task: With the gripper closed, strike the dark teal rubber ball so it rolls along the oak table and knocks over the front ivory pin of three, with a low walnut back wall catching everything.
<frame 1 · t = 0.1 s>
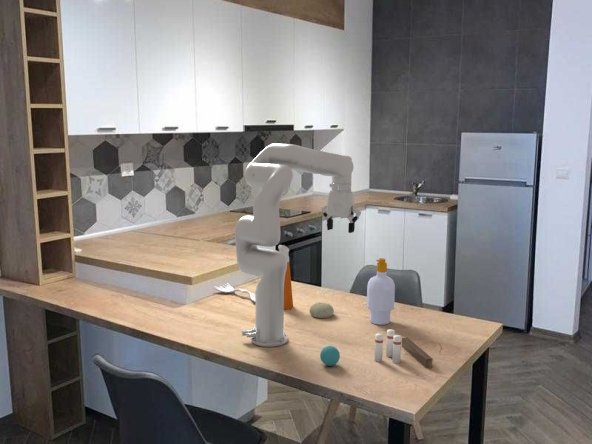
hand: (340, 230, 233), 31 cm above the counter, tool pointing down, fingers open, 9 cm apart
ball: (330, 355, 182), on the counter
right back pin: (396, 362, 185), on the counter
back wall: (416, 356, 190), on the counter
spray bottle: (282, 309, 236), on the counter
front pin: (378, 360, 187), on the counter
soap bottle: (379, 322, 222), on the counter
white fork: (245, 298, 250), on the counter
sea urchin shell: (321, 316, 228), on the counter
left back pin: (389, 355, 190), on the counter
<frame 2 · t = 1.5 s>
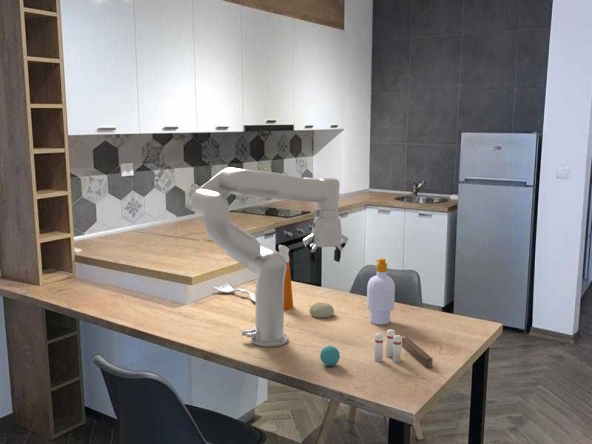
hand: (324, 261, 209), 25 cm above the counter, tool pointing down, fingers open, 9 cm apart
nothing on the counter moved.
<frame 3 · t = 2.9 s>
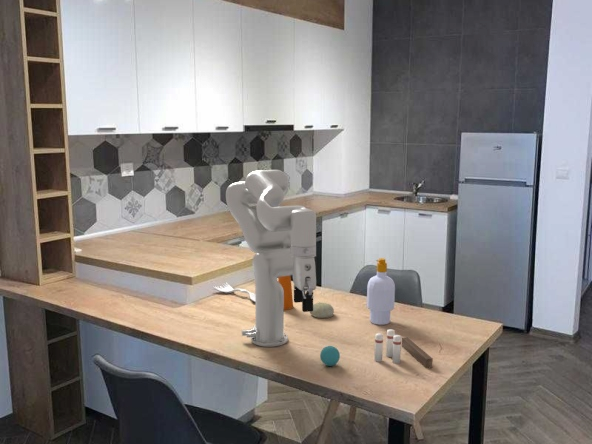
hand: (303, 306, 178), 19 cm above the counter, tool pointing down, fingers open, 9 cm apart
nothing on the counter moved.
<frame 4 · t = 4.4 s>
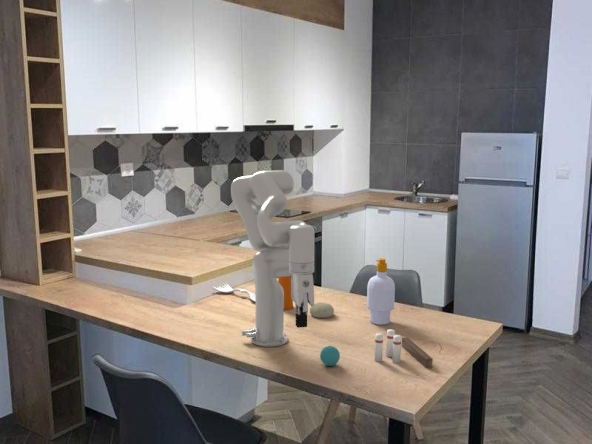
hand: (301, 326, 178), 13 cm above the counter, tool pointing down, fingers closed
nothing on the counter moved.
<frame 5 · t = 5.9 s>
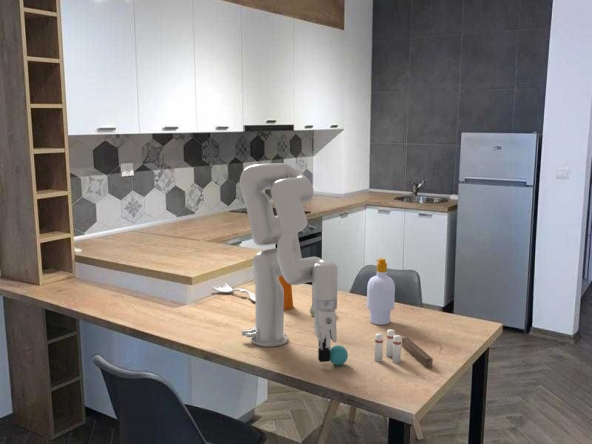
hand: (323, 360, 181), 2 cm above the counter, tool pointing down, fingers closed
ball: (338, 355, 183), on the counter
everything else where it was.
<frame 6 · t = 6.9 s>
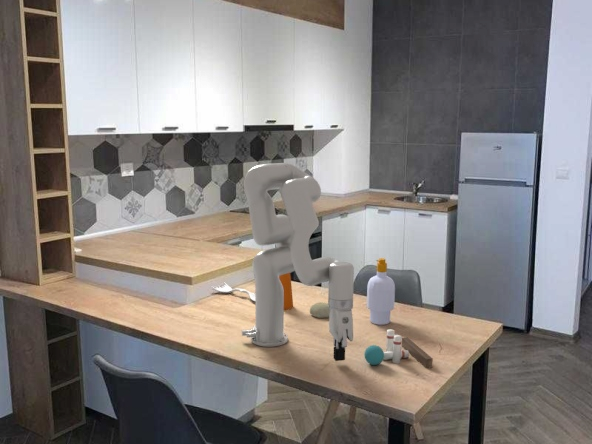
hand: (339, 359, 183), 2 cm above the counter, tool pointing down, fingers closed
ball: (374, 355, 183), on the counter
front pin: (382, 356, 187), point 1 cm above the counter, tilted 90°
everything else where it was.
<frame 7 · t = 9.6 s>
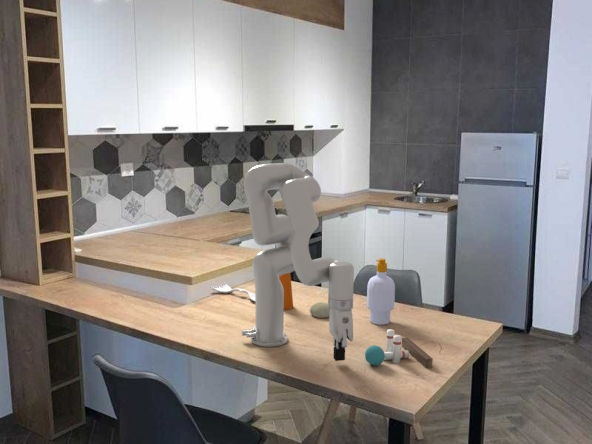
hand: (339, 359, 183), 2 cm above the counter, tool pointing down, fingers closed
nothing on the counter moved.
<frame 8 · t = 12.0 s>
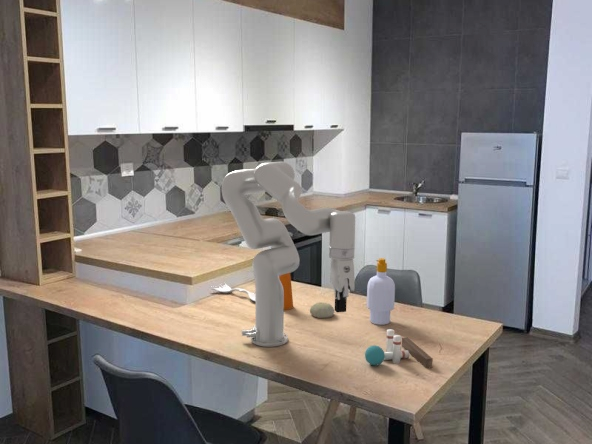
hand: (340, 311, 180), 17 cm above the counter, tool pointing down, fingers closed
at the end: front pin tilted 90°; front pin never touched the robot; ball moved 13.9 cm from its start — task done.
